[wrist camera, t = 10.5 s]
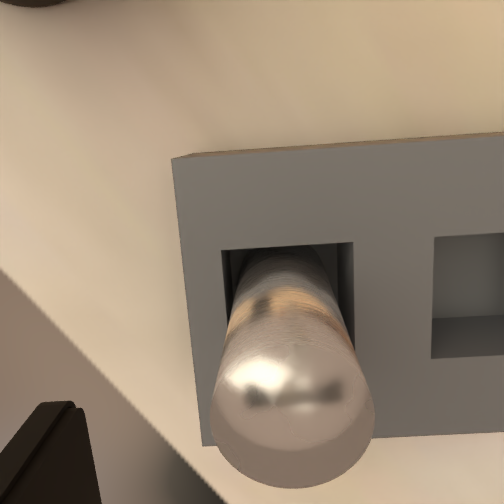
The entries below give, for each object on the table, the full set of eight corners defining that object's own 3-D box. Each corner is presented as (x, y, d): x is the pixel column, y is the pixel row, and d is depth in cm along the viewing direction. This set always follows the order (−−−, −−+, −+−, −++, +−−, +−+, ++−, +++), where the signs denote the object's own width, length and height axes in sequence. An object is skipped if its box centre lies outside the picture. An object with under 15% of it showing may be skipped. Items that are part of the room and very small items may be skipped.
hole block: (192, 153, 22) (171, 158, 17) (534, 129, 22) (624, 127, 16) (214, 380, 25) (202, 446, 20) (516, 364, 24) (587, 427, 19)
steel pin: (235, 240, 21) (200, 350, 11) (322, 233, 21) (372, 339, 11) (244, 319, 22) (219, 492, 12) (327, 313, 22) (377, 484, 12)
